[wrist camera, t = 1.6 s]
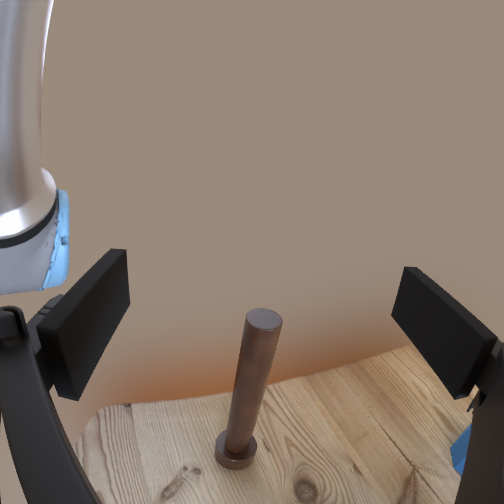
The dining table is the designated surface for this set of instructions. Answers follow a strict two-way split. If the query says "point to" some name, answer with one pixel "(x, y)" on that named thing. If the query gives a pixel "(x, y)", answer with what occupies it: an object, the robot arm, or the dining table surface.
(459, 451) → the water bottle
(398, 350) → the dining table surface
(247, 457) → the pestle
